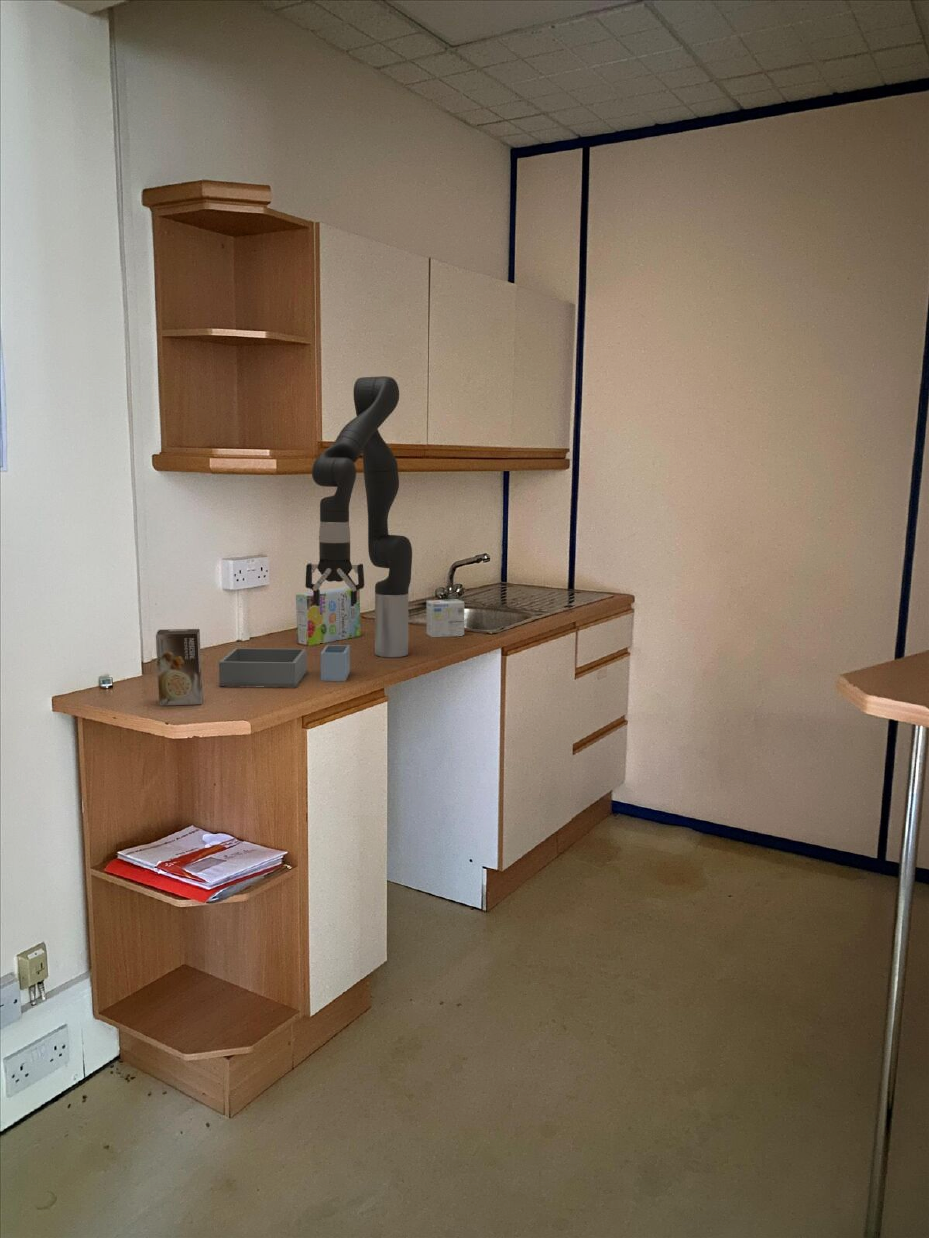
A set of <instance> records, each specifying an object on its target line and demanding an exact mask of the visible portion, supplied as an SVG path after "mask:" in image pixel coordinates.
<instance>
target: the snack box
mask: <svg viewBox="0 0 929 1238" xmlns="http://www.w3.org/2000/svg"><path fill="white" fill-rule="evenodd" d="M351 591H352V590H351V589H350V587H349V586H345V587H337V588H330V589H324V590H320V606H316V604H314V602H313V591H310V592H304V593H295V612H296V613H295V614H296V615H295V616H296V617H295V618H296V642H297V643H300V644H299V645H301V644H303V645H302V646H308V647H310V646H315V644H316V645H320V643H322V644H327V643H333V642H337V640H338V641H342V640H347V639H352V638H358V637H361V634H362V633H361V593H360V591H361V589H359V590H357V603H356V604H354V606H351Z"/></svg>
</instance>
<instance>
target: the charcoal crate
mask: <svg viewBox="0 0 929 1238" xmlns="http://www.w3.org/2000/svg"><path fill="white" fill-rule="evenodd" d="M307 666H308V665H307V648H267V647H266V648H261V647H260V648H257V647H255V648H254V647H253V648H252V647H246V648H245V647H235V648H234V649H233V650H231V651H230V652H229V653H228V654H226V655H225V656H224V657H222V659H221V660H220V661H218V675H219V676H218V680H219V682H218V683H219V687H220V686H264V687H263V688H265V687H287V688H286V689H296V688H297V686H298V685H299V684H300V682H301V681H302V679H303V678H304V677H305V675H306V674H307V672H308V671H307V670H308V669H307ZM304 674H305V675H304ZM303 676H304V677H303ZM299 681H300V682H299ZM298 683H299V684H298ZM297 684H298V685H297ZM288 687H290V688H288ZM291 687H292V688H291Z"/></svg>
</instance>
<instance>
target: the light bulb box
mask: <svg viewBox="0 0 929 1238" xmlns="http://www.w3.org/2000/svg"><path fill="white" fill-rule="evenodd" d="M425 604H426V635H427V636H429V637H431V638H432V639H433V638H448V637H462V636H463V635H464V636H465V601H463V600H461V599H457V598H455V599H438V600H436V599H435V600H426V603H425ZM464 636H463V637H464Z"/></svg>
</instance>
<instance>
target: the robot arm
mask: <svg viewBox="0 0 929 1238" xmlns="http://www.w3.org/2000/svg"><path fill="white" fill-rule="evenodd" d="M399 399H400V389H399V385H398V382H397V381H396V380H395V378H394V377H391V376H382V375H381V376H364V377H358V378H357V379H356V380H355V382H354V385H353V402H354V409H355V414H356V417H353V419H351V420H350V421H349V422H348V423H346V424H345V425H344V426H343V428H342V429H341V430H340V432H339V434H337V437H336V439H335V441H334V442H333V444H331V445H330V446H328V447H327V449H325V450H324V451H323V452H322V453H321V454H319V456H318V457H316V459H315V460H314V463H313V465H312V469H311V475H312V476H311V477H312V480H313V481H314V483H315V484H316V485H318V486H320V487H323V488H324V487H327V488H328V487H329V488H330V487H331V488H332V487H333V488H335V487H336V490H335V492H334V494H333V495H330V496H325V497H323V498H321V499H320V502H319V529H318V543H319V544H318V545H319V546H318V548H319V552H318V554H319V555H318V556H319V559H318V560H319V562H318V564H317V563H316V564H315V563H312V562H308V563H307V564H306V567H305V584H304V585H305V588H306V589H310V590H312V592H313V602H314V604H316V606H320V591H321V590H320V587H321V586H322V585H323V583H325V581H327V582H329V583H330V582H337V583H341V582H344V583H345V584H346V585H347V587H350V589H351V590H352V591H351V606H354V604H356V603H357V590H359V589H360V590H362V589H363V588H364V587H365V573H364V572H365V570H364V564H363V563H359V564H353V563H352V562H351V527H350V502H351V498H352V494H353V488H354V486H355V482H356V478H357V468H356V466H355V463H356V462H357V461H358V460H359V458H360V456H361V455H362V467H363V468H362V469H363V478H364V479H363V480H364V487H365V494H366V507H367V509H366V510H367V523H368V524H367V547H368V548H367V549H368V556H369V560H370V562H371V564H372V565H373V566H374V567H376V568H381V569H383V568H384V569H388V576H387V577H386V578H385V579H383V580H380V581H377V582H376V583H375V585H374V655H375V656H378V657H381V658H401V657H406V656H408V655H409V588H410V584H411V581H412V567H413V566H412V564H413V548H412V543H411V541H410V539H409V538H408V537H406V536H404V535H395V534H389V524H388V523H389V521H388V520H389V519H388V518H389V513H390V510H391V508H392V505H393V503H394V502H395V499H396V497H397V494H398V491H399V488H400V480H399V479H400V477H399V469H398V468H399V467H398V466H399V465H398V462H397V458H396V457H395V454H394V453H393V451H392V450H391V448H390V447H389V446H388V444H387V443H386V441H385V440H384V439H383V436H382V435H381V433H380V431H379V428H380V427H381V426H382V425H383V423H384V422H385V421H386V420H387V419H388V418H389V416H390V415H391V414H392V413H393V412H394V411H395V409H396V407H397V406H398V405H399V404H398V403H399ZM316 570H318V572H319V574H320V575H321V576H320V577H319V578H318V580H317V582H315V583H313V573H315V572H316ZM352 570H353V571H354V573H355V574H357V582H358V583H357V584H356V583H355V582H354V580H353V579H352V577H351V576H350V575H349V574H350V573H351V571H352Z"/></svg>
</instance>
